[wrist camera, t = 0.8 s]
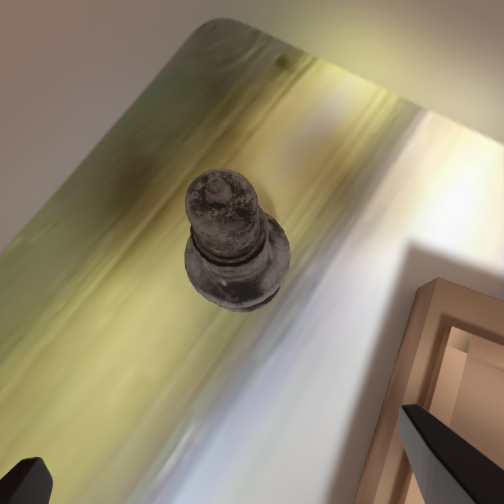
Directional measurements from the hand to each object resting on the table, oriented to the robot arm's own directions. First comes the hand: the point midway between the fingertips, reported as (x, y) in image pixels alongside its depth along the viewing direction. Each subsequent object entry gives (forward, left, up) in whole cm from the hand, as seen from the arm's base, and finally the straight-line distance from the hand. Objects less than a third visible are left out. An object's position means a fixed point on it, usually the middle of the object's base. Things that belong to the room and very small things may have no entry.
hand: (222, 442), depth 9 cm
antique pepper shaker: (+7, +4, -13) cm, 15 cm away
